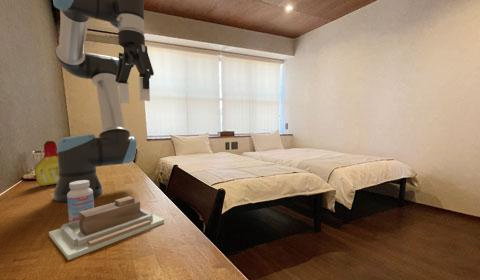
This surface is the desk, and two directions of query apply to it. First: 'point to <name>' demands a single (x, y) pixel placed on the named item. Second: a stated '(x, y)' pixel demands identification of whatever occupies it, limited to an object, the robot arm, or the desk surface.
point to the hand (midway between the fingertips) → (134, 102)
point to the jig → (99, 234)
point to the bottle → (48, 165)
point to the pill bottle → (79, 198)
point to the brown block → (109, 215)
